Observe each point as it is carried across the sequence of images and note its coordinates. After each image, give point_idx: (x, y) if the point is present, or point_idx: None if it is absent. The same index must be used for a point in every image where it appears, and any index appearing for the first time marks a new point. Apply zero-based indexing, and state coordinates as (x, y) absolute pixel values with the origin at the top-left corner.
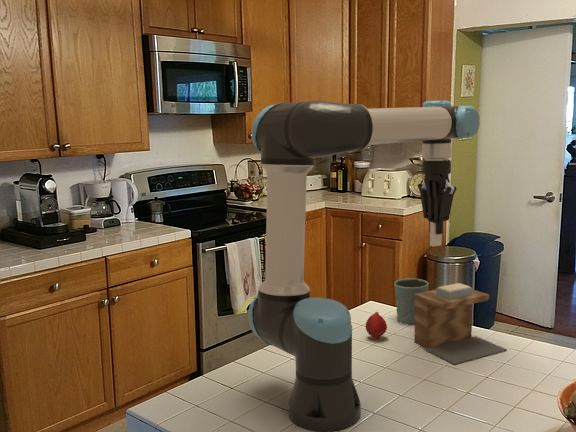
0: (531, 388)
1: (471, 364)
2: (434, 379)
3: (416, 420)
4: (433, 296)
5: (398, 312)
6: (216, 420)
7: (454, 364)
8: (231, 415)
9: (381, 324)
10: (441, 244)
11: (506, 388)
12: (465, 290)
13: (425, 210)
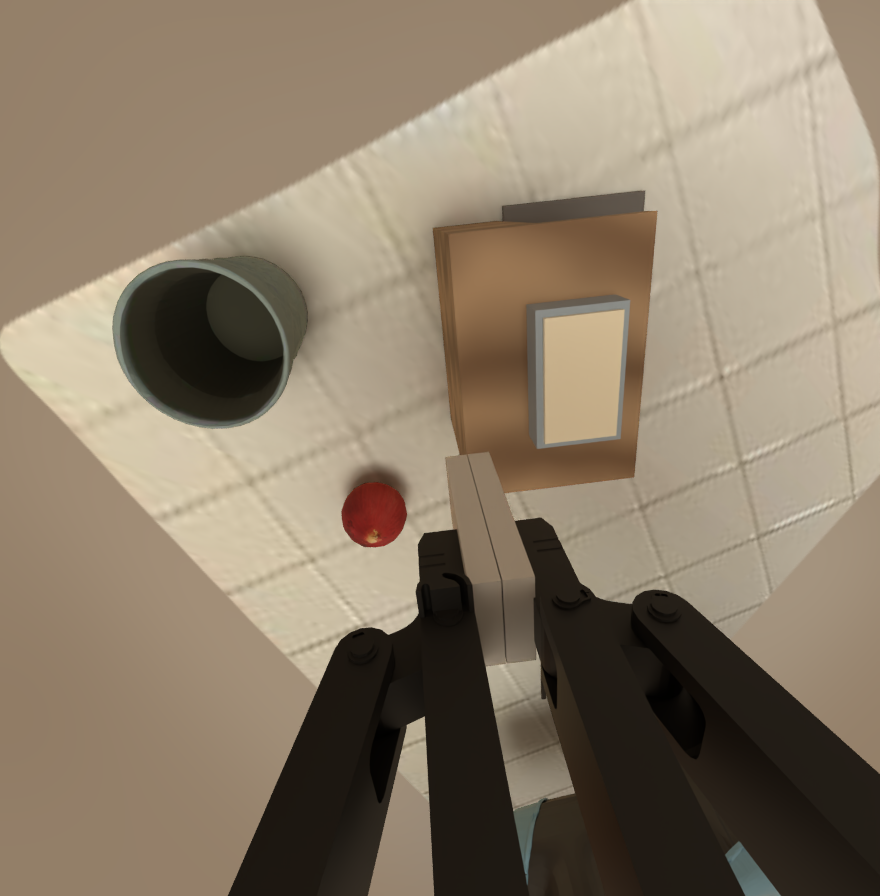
0: (830, 321)
1: (648, 363)
2: (655, 489)
3: (749, 592)
4: (537, 454)
5: (245, 373)
6: (571, 793)
7: None
8: (569, 779)
9: (403, 520)
10: (488, 453)
11: (788, 376)
12: (624, 345)
13: (384, 802)
